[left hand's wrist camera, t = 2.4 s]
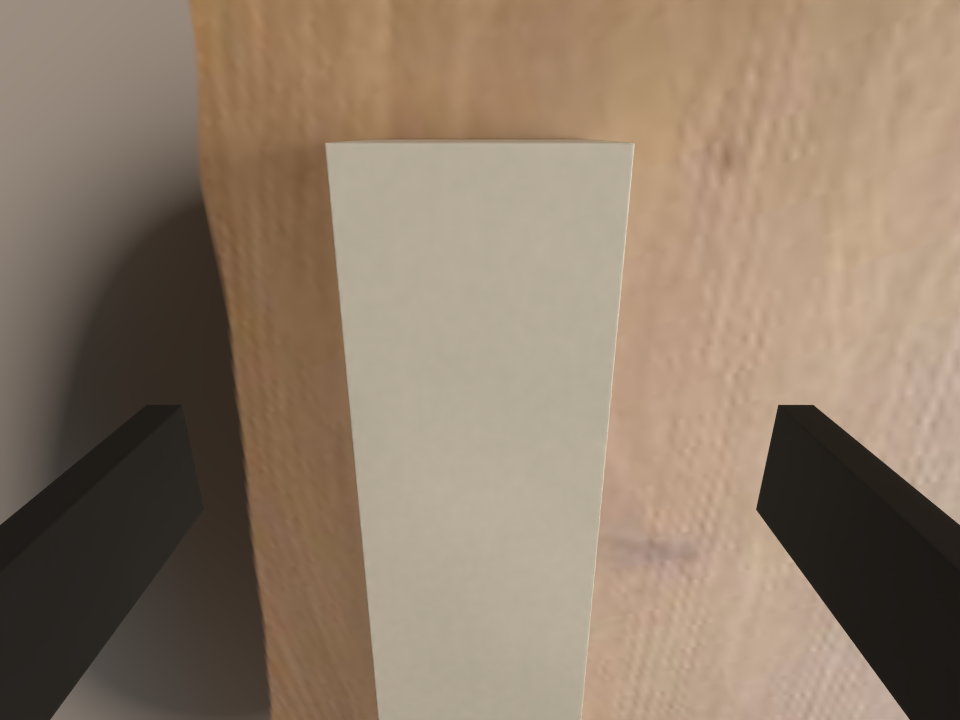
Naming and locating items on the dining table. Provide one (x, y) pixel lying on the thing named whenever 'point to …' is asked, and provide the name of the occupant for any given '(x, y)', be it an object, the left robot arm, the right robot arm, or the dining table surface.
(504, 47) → the dining table surface
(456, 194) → the wide beam
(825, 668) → the dining table surface
